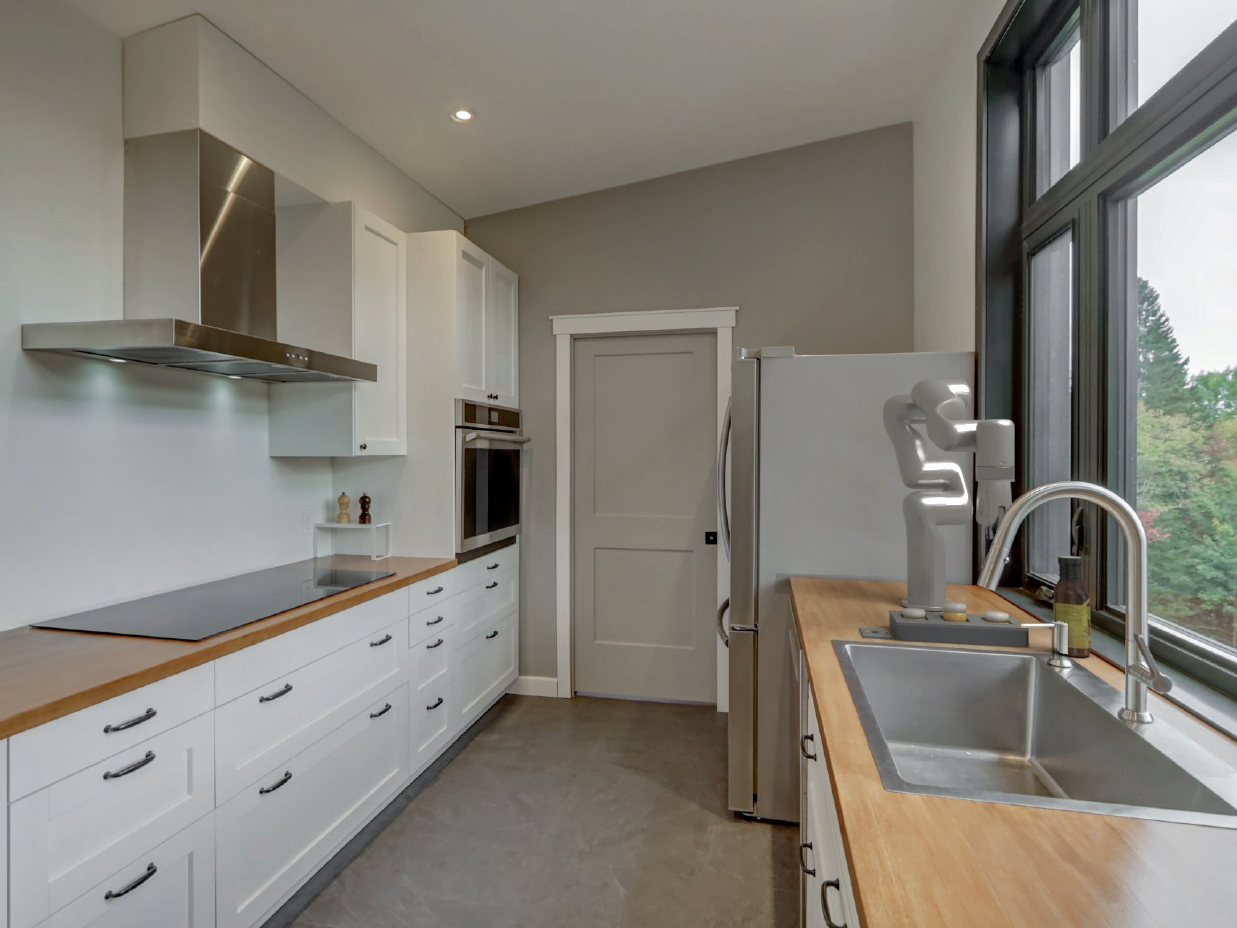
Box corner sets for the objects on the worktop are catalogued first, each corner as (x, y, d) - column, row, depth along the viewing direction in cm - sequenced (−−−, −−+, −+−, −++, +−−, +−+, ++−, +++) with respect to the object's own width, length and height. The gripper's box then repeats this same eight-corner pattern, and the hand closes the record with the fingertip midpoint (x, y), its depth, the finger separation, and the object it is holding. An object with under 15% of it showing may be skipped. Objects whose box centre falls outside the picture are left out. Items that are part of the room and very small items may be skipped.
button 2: (982, 634, 150) (982, 610, 150) (1004, 635, 148) (1004, 611, 148) (988, 640, 145) (987, 615, 145) (1011, 641, 144) (1011, 616, 144)
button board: (889, 627, 158) (889, 610, 158) (1010, 633, 151) (1010, 615, 151) (897, 640, 146) (897, 622, 146) (1028, 647, 140) (1028, 628, 140)
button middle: (941, 624, 152) (941, 601, 152) (963, 625, 151) (963, 601, 151) (946, 629, 147) (945, 605, 147) (968, 631, 146) (968, 606, 146)
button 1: (901, 630, 154) (901, 607, 154) (923, 631, 153) (922, 608, 153) (905, 635, 149) (904, 611, 149) (927, 636, 148) (926, 612, 148)
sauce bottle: (1097, 658, 131) (1096, 559, 131) (1062, 657, 133) (1061, 558, 133) (1081, 649, 138) (1080, 554, 138) (1048, 648, 139) (1047, 554, 139)
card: (859, 628, 157) (859, 626, 157) (886, 630, 155) (886, 627, 155) (863, 637, 149) (863, 635, 149) (891, 639, 148) (891, 636, 148)
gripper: (967, 473, 155) (967, 551, 155) (985, 476, 140) (986, 561, 141) (1003, 473, 153) (1003, 552, 153) (1025, 476, 139) (1025, 562, 139)
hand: (995, 556), depth 147 cm, fingers closed
